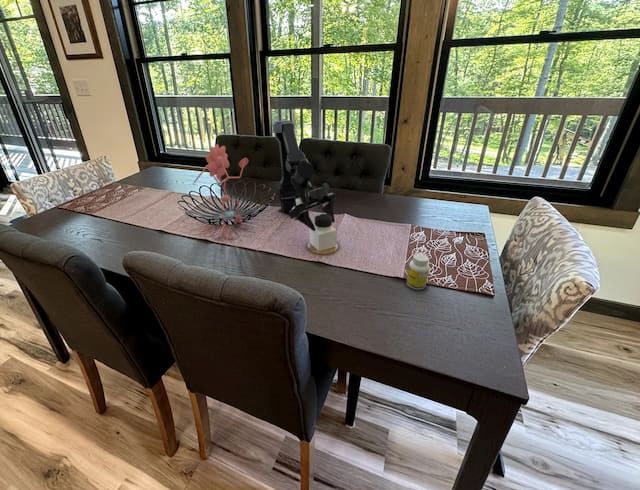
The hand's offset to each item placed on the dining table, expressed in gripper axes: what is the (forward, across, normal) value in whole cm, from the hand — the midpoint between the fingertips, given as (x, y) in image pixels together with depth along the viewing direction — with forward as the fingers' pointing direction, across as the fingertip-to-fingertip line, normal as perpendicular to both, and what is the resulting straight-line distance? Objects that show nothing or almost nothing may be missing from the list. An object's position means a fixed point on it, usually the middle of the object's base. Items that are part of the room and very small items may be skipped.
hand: (324, 226), depth 109 cm
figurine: (-19, -21, +31) cm, 42 cm away
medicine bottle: (+5, 0, +6) cm, 8 cm away
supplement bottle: (+29, +6, -17) cm, 34 cm away
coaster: (+6, 0, +6) cm, 9 cm away
